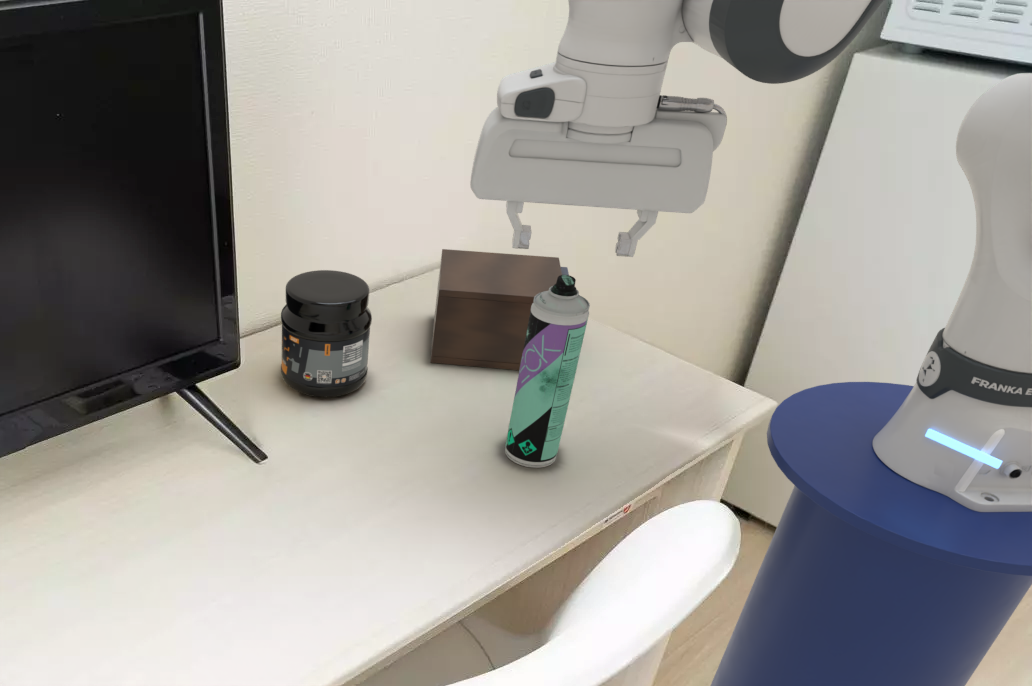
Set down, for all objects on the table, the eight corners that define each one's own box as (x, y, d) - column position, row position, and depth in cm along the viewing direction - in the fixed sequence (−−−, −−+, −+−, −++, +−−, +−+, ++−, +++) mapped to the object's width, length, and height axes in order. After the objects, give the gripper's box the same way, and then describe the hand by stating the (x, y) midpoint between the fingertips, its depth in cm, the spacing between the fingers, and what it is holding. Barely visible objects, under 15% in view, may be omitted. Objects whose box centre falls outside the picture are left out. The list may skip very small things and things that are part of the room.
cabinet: (545, 327, 124) (559, 257, 119) (551, 373, 114) (566, 299, 108) (434, 318, 126) (442, 248, 120) (430, 362, 116) (439, 289, 110)
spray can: (526, 434, 103) (560, 262, 91) (566, 455, 100) (608, 280, 88) (494, 451, 100) (525, 276, 88) (534, 474, 97) (572, 295, 85)
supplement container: (293, 353, 118) (295, 262, 110) (375, 365, 115) (382, 273, 108) (269, 393, 110) (269, 298, 102) (356, 407, 107) (363, 311, 100)
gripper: (725, 90, 79) (681, 246, 88) (483, 77, 82) (462, 230, 90) (742, 109, 74) (694, 272, 83) (483, 94, 77) (462, 255, 85)
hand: (571, 250), depth 86 cm, fingers open, 8 cm apart
